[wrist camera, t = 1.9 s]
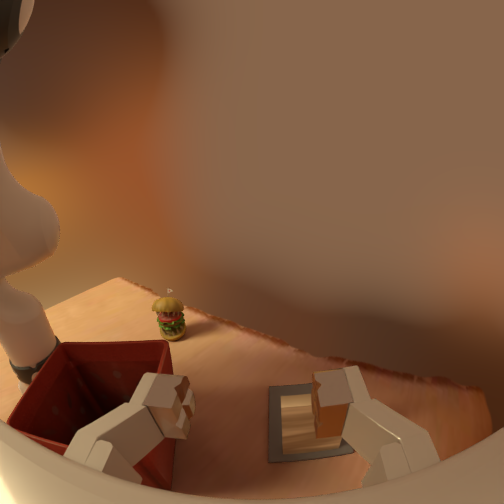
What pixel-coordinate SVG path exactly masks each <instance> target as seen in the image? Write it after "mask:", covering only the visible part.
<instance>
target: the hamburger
mask: <svg viewBox="0 0 504 504" xmlns="http://www.w3.org/2000/svg"><path fill="white" fill-rule="evenodd" d="M167 290H168V293H169V292H171V291H172V290H170V289H168V288H167ZM183 310H184V307H183V304H182V302H180V301H179V300H178V299H175V298H171V297H164V298H160V299H157V300H156V301H155V302H154V303H153V305H152V311H156V313H157V315H158V317H157V322H158V321H159V327H160V333H161V336H162V337H163V338H164V339H166V340H169V341H174V340H177V339H179V338H181V337H182V336H183V335H184V333H185V331H186V324H185V322H184V321H185V320H184V317H183V316H184V314H183V312H181V311H183ZM160 312H161V313H160Z"/></svg>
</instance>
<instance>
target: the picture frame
mask: <svg viewBox="0 0 504 504" xmlns="http://www.w3.org/2000/svg"><path fill="white" fill-rule="evenodd" d="M281 416H282V444H283V455H284V454H298V453H308V452H317V451H324V450H331V449H338V448H339V446H340V442H341V439H342V437H341V436H335V437H327V438H318V439H316V434H315V427H314V419H315V415H314V414H313V413H312V405H311V394H303V395H291V396H281Z"/></svg>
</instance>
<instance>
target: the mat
mask: <svg viewBox="0 0 504 504" xmlns="http://www.w3.org/2000/svg"><path fill="white" fill-rule="evenodd" d="M312 388H313V383H309V384H298V385H286V386H269V463H273V462H291V461H303V460H312V459H320V458H328V457H334V456H340V455H346V454H351V453H353V448H352V447H351V446H350V445H349V444H348V443H347V442H346V441H345V440H344V439H343V438H342V439H341V442H340V446H339V448H338V449H331V450H324V451H317V452H308V453H298V454H284V455H283V444H282V416H281V396H291V395H303V394H311V389H312Z"/></svg>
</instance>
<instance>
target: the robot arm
mask: <svg viewBox="0 0 504 504" xmlns="http://www.w3.org/2000/svg"><path fill="white" fill-rule="evenodd" d="M33 5H34V0H0V62H1V59H2V57H3V56H4V55H6V54H7V53H8V52H9V51H10V50H11V49H12V48H13V46H14V45H15V44H16V43H17V41H18V40H19V39H20V37H21V36H22V34H23V31H24V28H25V26H26V24H27V22H28V20H29V18H30V15H31V13H32V9H33ZM59 237H60V226H59V220H58V217H57V214H56V212H55V210H54V208H53V207H52V205H51V204H50V203H49V202H48V201H47V200H46V199H44V198H43V197H40V196H38V195H35V194H33V193H31V192H29V191H28V190H26V189H25V188H24V187H22V186H21V185H20V184H19V183H18V182H17V181H16V180H15V178H14V177H13V176H12V174H11V173H10V171H9V170H8V168H7V165H6V163H5V160H4V157H3V153H2V149H1V144H0V343H1V345H2V346H3V348H4V350H5V352H6V354H7V355H8V357H9V361H10V365H11V366H12V369H13V371H14V373H15V374H16V375H17V377H18V379H19V385H18V387H19V390H20V391H21V393H22V395H23V394H24V393H25V391H26V390H27V388H28V387H29V385H30V384H31V382H32V381H33V379H34V378H35V376H36V375H37V373H38V372H39V371H40V369H41V368H42V366H43V365H44V363H45V362H46V361H47V359H48V358H49V357H50V355H51V354H52V353H53V351H54V350H55V349H56V347H57V346H58V345H59V344H61V342H60V341H59V339H58V338H57V337H56V336H55V335H54V333H53V330H52V328H51V326H50V324H49V321H48V319H47V317H46V314H45V312H44V309H43V307H42V305H41V303H40V302H39V301H38V300H37V299H36V298H35V297H34V296H33V295H31V294H29V293H26V292H21V291H18V290H16V289H15V288H13V287H12V286H11V285H10V284H9V283H8V282H7V281H6V279H5V276H8V275H11V274H14V273H17V272H20V271H23V270H26V269H29V268H32V267H34V266H36V265H37V264H39V263H41V262H43V261H44V260H46V259H48V258H49V257H51V256H53V255H54V253H55V251H56V249H57V246H58V242H59ZM312 383H313V388H312V389H311V405H312V413H313V414H314V415H315V419H314V427H315V434H316V439H318V438H327V437H335V436H341V437H342V438H343V439H344V440H345V441H346V442H347V443H348V444H349V445H350V446H351V447H352V448H353V449H355V450H356V451H357V452H358V453H359V454H360V455H361V456H362V457H363V458H364V459H365V460H366V461H367V462H368V463H369V464H371V466H370V468H369V470H368V471H367V473H366V475H365V476H364V478H363V479H362V481H361V482H362V487H363V488H358V489H354V490H349V491H344V492H338V493H332V494H326V495H318V496H310V497H300V498H287V499H229V498H216V497H206V496H198V495H191V494H184V493H178V492H173V491H168V490H163V489H158V488H154V487H149V486H145V485H141V482H142V477H141V476H140V475H139V474H138V473H137V472H136V471H135V469H134V468H133V466H134V465H135V464H136V463H138V462H139V461H140V460H141V459H142V458H143V457H144V456H146V455H147V454H148V453H149V452H150V451H151V450H152V449H153V448H154V447H156V446H157V445H158V444H159V443H160V442H161V441H162V440H163V439H164V437H168V438H177V439H187V437H188V434H189V430H190V427H191V425H190V422H189V419H190V418H191V417H193V415H194V411H195V397H194V394H193V392H192V391H191V390H190V389H188V388H189V385H190V383H189V380H188V377H187V376H181V375H170V374H160V373H159V374H157V373H149V372H147V373H145V374H144V375H143V377H142V379H141V381H140V382H139V384H138V386H137V388H136V390H135V392H134V394H133V396H132V398H131V400H130V402H129V403H124V404H122V405H120V406H119V407H117V408H116V409H114V410H112V411H111V412H109V413H107V414H106V415H104V416H102V417H101V418H99V419H97V420H95V421H94V422H92V423H90V424H89V425H87V426H85V427H83V428H81V429H80V430H78V431H77V432H76V434H75V436H74V438H73V439H72V441H71V443H70V444H69V446H68V448H67V450H66V452H65V453H64V455H63V456H62V455H60V454H58V453H56V452H54V451H52V450H50V449H48V448H46V447H44V446H42V445H40V444H39V443H37V442H35V441H33V440H32V439H30V438H28V437H27V436H25V435H23V434H22V433H20V432H18V431H17V430H15V429H14V428H12V427H11V426H9V425H8V424H6V423H5V422H3V421H2V420H1V419H0V504H504V427H503V428H501V429H500V430H498V431H497V432H495V433H494V434H492V435H490V436H489V437H487V438H485V439H484V440H482V441H480V442H478V443H477V444H475V445H473V446H471V447H469V448H467V449H466V450H464V451H462V452H460V453H458V454H456V455H454V456H452V457H449V458H447V459H445V460H443V461H440V459H439V456H438V454H437V451H436V449H435V447H434V444H433V442H432V440H431V438H430V435H429V433H428V431H427V430H425V429H423V428H422V427H420V426H418V425H417V424H415V423H413V422H412V421H410V420H408V419H407V418H405V417H404V416H402V415H400V414H399V413H397V412H396V411H394V410H392V409H391V408H389V407H388V406H386V405H384V404H383V403H381V402H380V401H378V400H377V399H371V398H370V395H369V392H368V390H367V387H366V385H365V382H364V379H363V377H362V374H361V372H360V369H359V367H358V366H357V365H356V366H351V367H345V368H338V369H331V370H324V371H316V372H313V374H312Z"/></svg>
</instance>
